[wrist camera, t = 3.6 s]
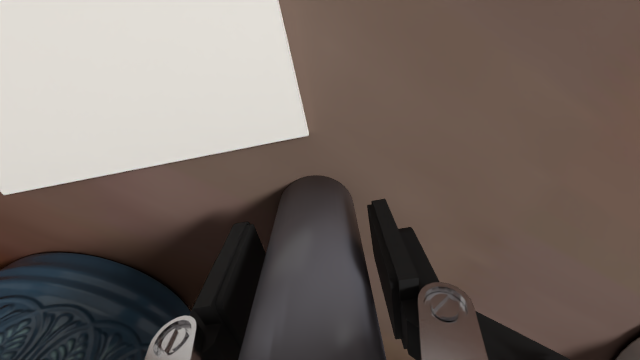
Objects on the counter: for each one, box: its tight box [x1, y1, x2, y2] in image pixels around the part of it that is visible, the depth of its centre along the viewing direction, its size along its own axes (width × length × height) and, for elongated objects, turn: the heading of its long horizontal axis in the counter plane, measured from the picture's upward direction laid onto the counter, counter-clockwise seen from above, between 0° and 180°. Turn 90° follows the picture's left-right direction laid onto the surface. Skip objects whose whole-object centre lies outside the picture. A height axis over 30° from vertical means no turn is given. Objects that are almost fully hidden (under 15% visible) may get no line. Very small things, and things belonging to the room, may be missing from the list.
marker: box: [238, 176, 386, 360], centre depth 8 cm, size 4×4×11 cm
